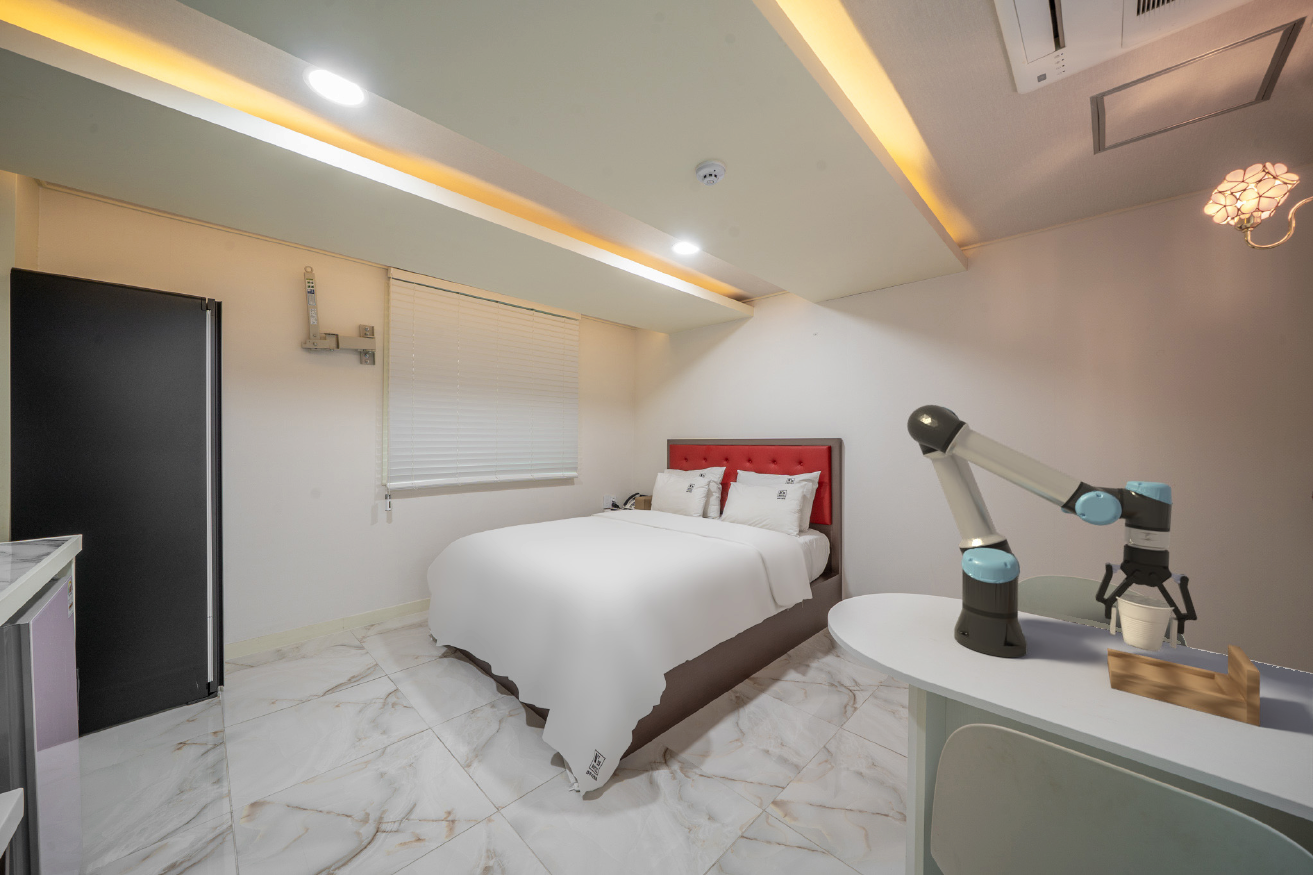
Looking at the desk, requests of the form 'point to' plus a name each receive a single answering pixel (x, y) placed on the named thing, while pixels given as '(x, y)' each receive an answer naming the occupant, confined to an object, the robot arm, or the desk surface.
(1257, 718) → the bracket shelf
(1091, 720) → the desk surface
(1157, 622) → the cup
